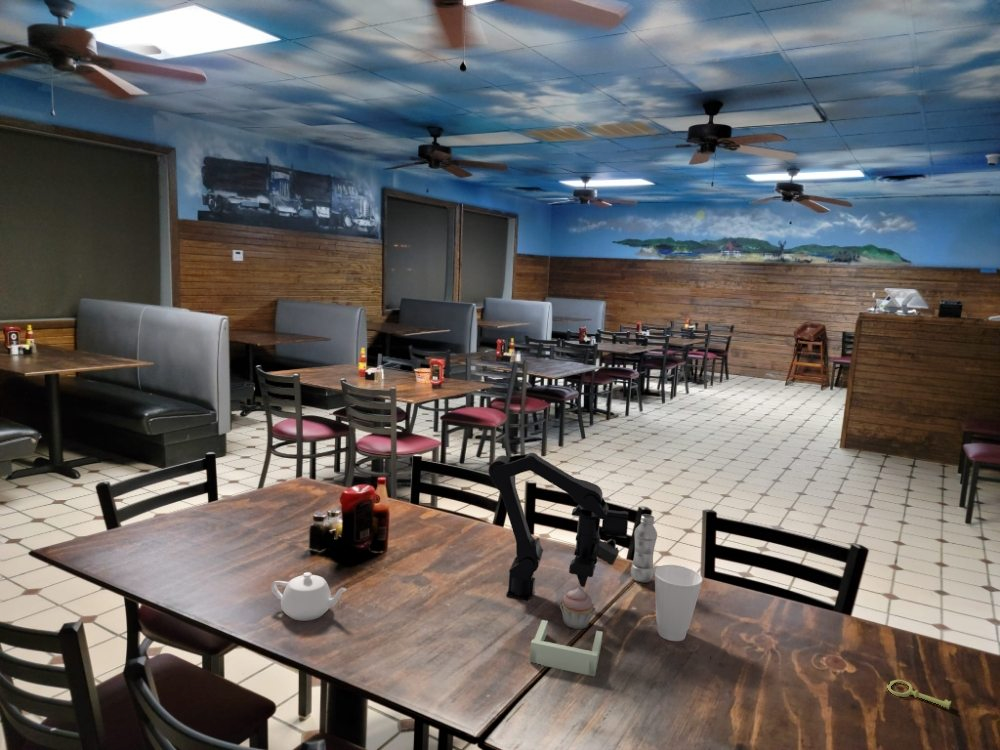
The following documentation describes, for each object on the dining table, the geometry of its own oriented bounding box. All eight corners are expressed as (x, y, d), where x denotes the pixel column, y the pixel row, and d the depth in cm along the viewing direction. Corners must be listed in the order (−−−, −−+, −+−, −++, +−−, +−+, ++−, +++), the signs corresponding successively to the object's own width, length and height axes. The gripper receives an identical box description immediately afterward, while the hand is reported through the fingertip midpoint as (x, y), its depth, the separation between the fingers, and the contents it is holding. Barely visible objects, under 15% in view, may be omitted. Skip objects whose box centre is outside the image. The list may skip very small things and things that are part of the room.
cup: (696, 628, 173) (703, 570, 171) (694, 651, 162) (701, 589, 160) (650, 617, 177) (656, 560, 175) (644, 639, 166) (651, 579, 163)
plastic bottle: (652, 586, 195) (660, 521, 192) (629, 583, 196) (636, 518, 193) (652, 577, 201) (659, 514, 198) (629, 573, 202) (636, 511, 199)
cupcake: (573, 610, 178) (576, 575, 177) (601, 624, 172) (604, 588, 170) (549, 621, 172) (553, 585, 170) (578, 637, 165) (581, 599, 164)
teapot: (355, 606, 172) (356, 569, 171) (334, 631, 160) (335, 591, 159) (284, 594, 176) (284, 558, 174) (258, 617, 164) (258, 579, 162)
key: (951, 715, 145) (953, 706, 145) (887, 696, 150) (888, 687, 150) (947, 697, 151) (948, 689, 151) (885, 680, 157) (886, 671, 156)
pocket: (529, 662, 153) (531, 642, 152) (540, 632, 166) (542, 614, 165) (594, 676, 149) (596, 655, 148) (601, 645, 162) (603, 626, 161)
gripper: (615, 550, 168) (609, 608, 170) (621, 524, 186) (615, 577, 188) (571, 543, 171) (566, 599, 173) (581, 518, 189) (576, 570, 191)
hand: (582, 586), depth 181 cm, fingers closed
